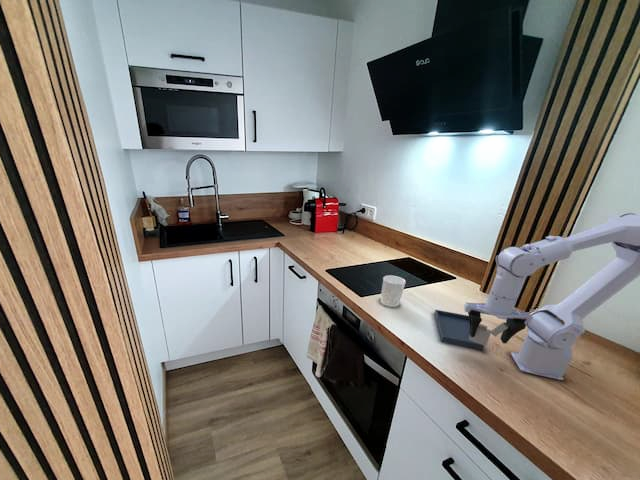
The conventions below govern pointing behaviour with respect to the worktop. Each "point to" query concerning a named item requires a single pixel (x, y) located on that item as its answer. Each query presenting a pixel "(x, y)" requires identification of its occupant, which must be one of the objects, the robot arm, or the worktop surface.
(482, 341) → the lighter
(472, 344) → the tray
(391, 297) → the white cup
